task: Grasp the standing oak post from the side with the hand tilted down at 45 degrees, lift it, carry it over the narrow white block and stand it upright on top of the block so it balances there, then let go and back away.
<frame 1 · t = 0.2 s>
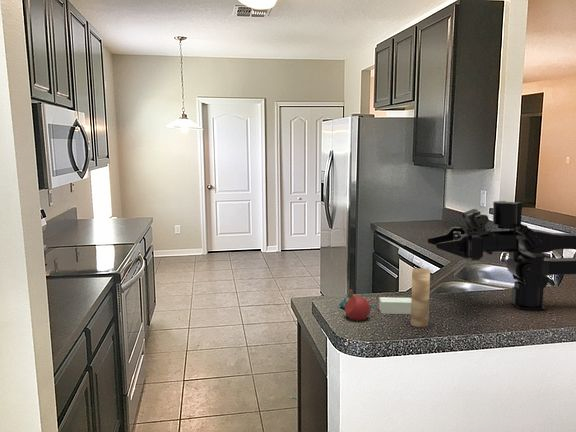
hand: (431, 243, 128), 17 cm above the counter, tool horizontal, fingers open, 9 cm apart
oak post: (419, 324, 115), on the counter
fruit: (362, 318, 120), on the counter
dragon figurine: (356, 310, 127), on the counter
white block: (395, 311, 125), on the counter
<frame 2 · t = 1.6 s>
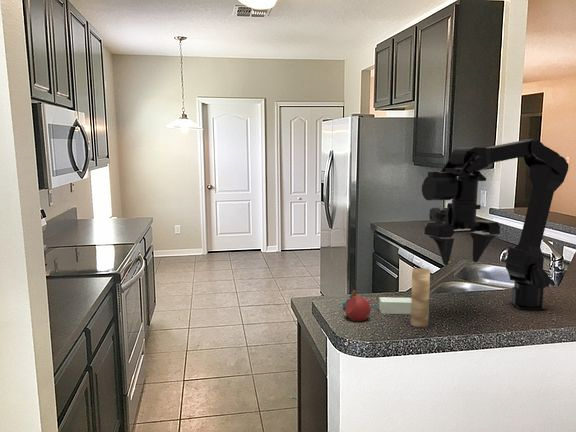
hand: (460, 263, 120), 13 cm above the counter, tool pointing down, fingers open, 9 cm apart
dragon figurine: (359, 311, 126), on the counter
everything else where it was.
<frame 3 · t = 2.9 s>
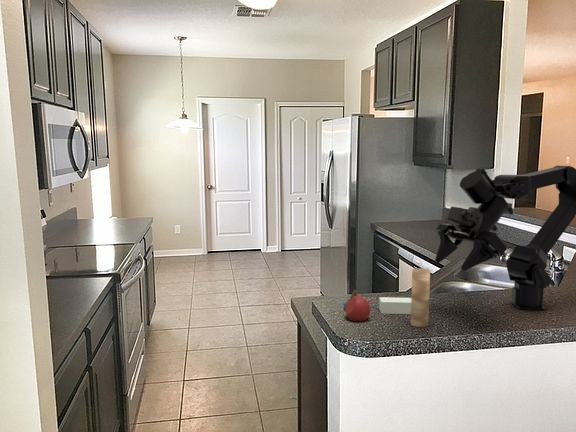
hand: (448, 265, 117), 13 cm above the counter, tool tilted 45°, fingers open, 9 cm apart
nothing on the counter moved.
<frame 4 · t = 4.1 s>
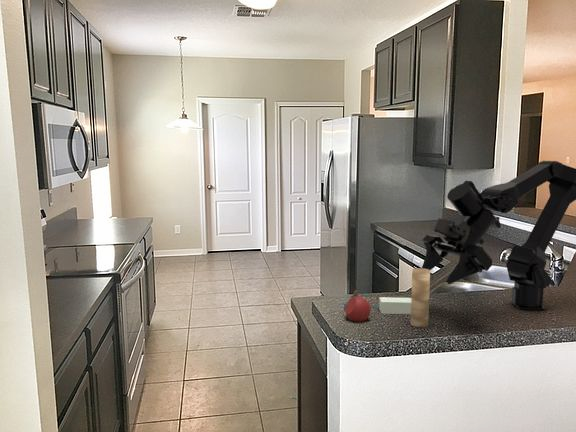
hand: (434, 278, 115), 11 cm above the counter, tool tilted 45°, fingers open, 9 cm apart
nothing on the counter moved.
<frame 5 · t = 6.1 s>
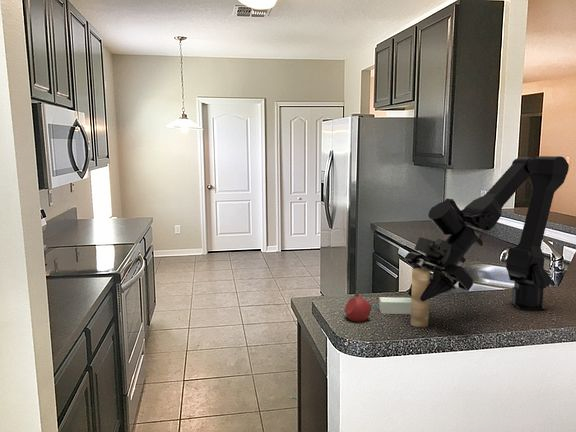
hand: (415, 297, 114), 7 cm above the counter, tool tilted 45°, fingers closed on oak post, 4 cm apart
oak post: (419, 324, 115), on the counter, touching gripper
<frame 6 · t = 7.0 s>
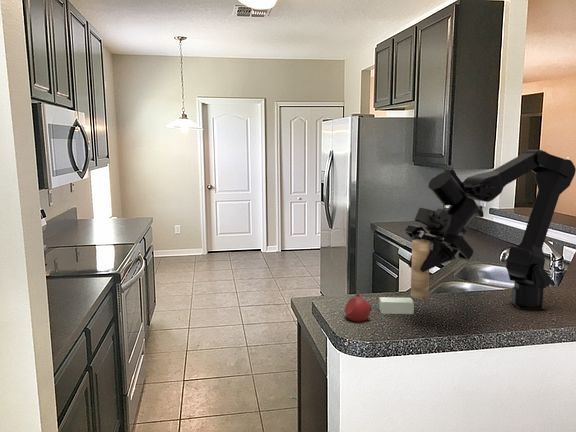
hand: (415, 268, 113), 13 cm above the counter, tool tilted 45°, fingers closed on oak post, 4 cm apart
oak post: (419, 295, 115), point 7 cm above the counter, touching gripper
when the fingers open (10 cm above the counter, at t = 8.6 s): oak post stays where it is, resting on white block.
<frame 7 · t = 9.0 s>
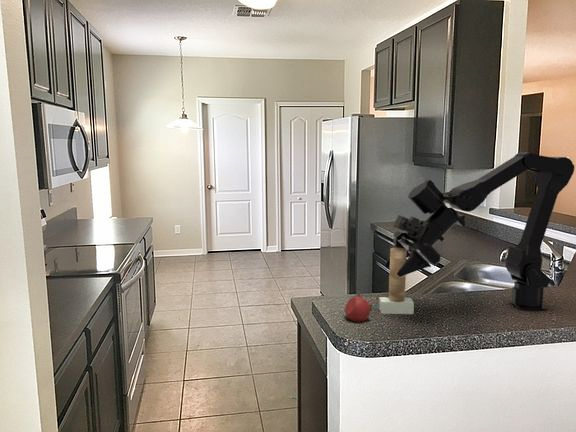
hand: (391, 270, 123), 11 cm above the counter, tool tilted 45°, fingers open, 9 cm apart
oak post: (396, 299, 124), point 3 cm above the counter, touching white block
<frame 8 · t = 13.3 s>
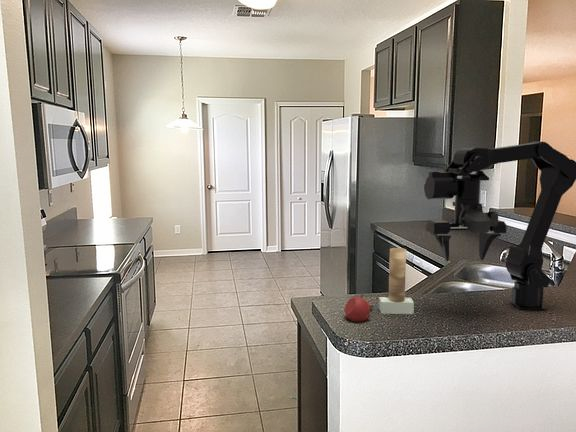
hand: (464, 260, 124), 13 cm above the counter, tool pointing down, fingers open, 9 cm apart
at the end: oak post inside the target area on the white block (0.1 cm from its centre), point 3.0 cm above the white block's base; oak post tilted 0°; the gripper is holding nothing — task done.
